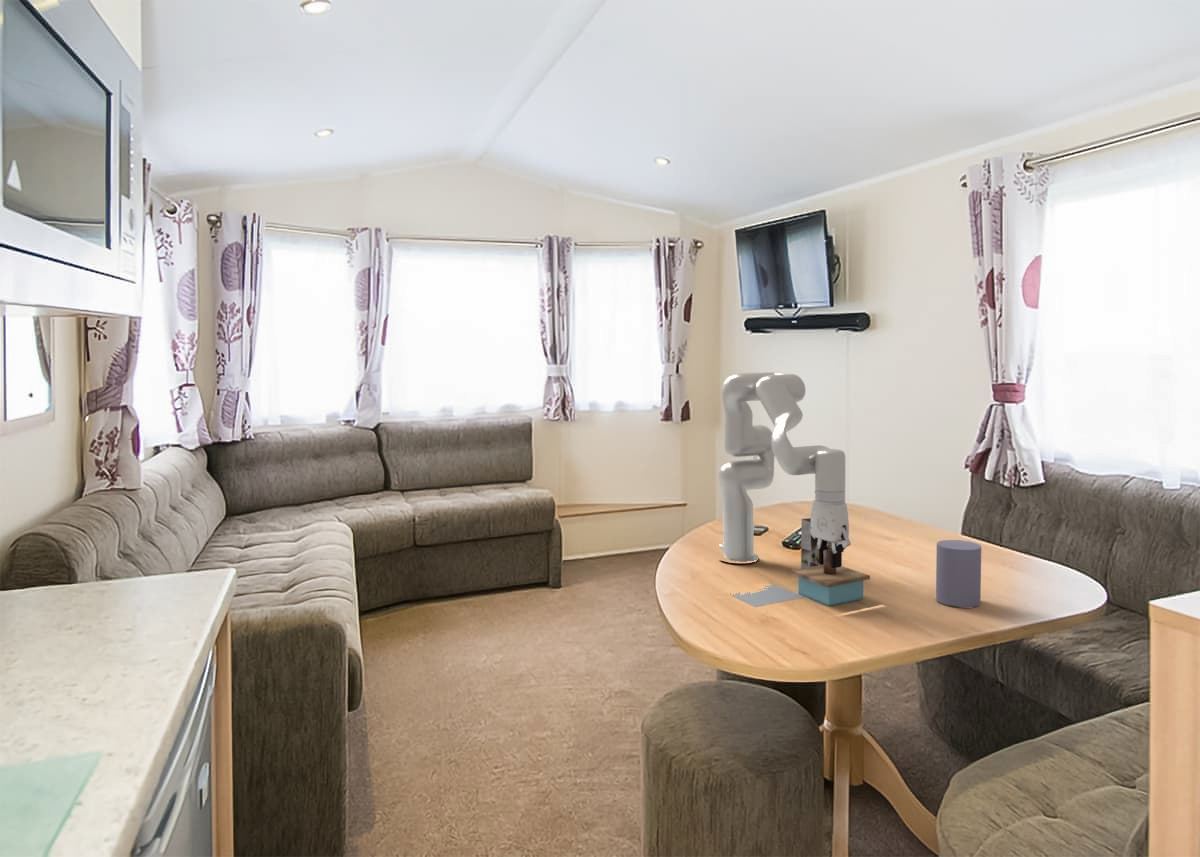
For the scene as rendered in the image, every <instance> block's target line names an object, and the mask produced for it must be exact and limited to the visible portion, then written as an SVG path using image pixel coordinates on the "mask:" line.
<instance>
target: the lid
mask: <svg viewBox="0 0 1200 857" xmlns="http://www.w3.org/2000/svg"><path fill="white" fill-rule="evenodd" d="M831 553H833V551H832V549H824V564H823V565H818V566H812V567H807V568H801V567H800V568H795V569H791V570H790V571H791V572H790V573H791V575H793V576H796V577H797V578H798V577H801V578H804V579H806V580H809V581H812V582H814V583H817V584H820V585H822V586H825V587H833V586H838V585H843V584H848V583H853V582H858V581H863V582H864V581H867V580H871V579H870V578H871V576H870V574H867V573H864V572H860V571H858V570H854V569H852V568H849V567H845V566H843V565H842V566H841V567H838V568H831Z"/></svg>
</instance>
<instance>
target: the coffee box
mask: <svg viewBox="0 0 1200 857" xmlns="http://www.w3.org/2000/svg"><path fill="white" fill-rule="evenodd" d="M810 523H811V517H809V518H801V532H800V533H801V535H800V536H801V537H800V538H801V539H800V540H801V541H800V542H801V551H800V555H801V556H800V569H801V568H807V567H812V566H818V565H823V564H819V549H818V548H817V543H816V541H815V539H814V538H813V537H812V535H811V533H810ZM836 546H838V543H836ZM827 548H830V549H832V543H831V542H828V547H827Z"/></svg>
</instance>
